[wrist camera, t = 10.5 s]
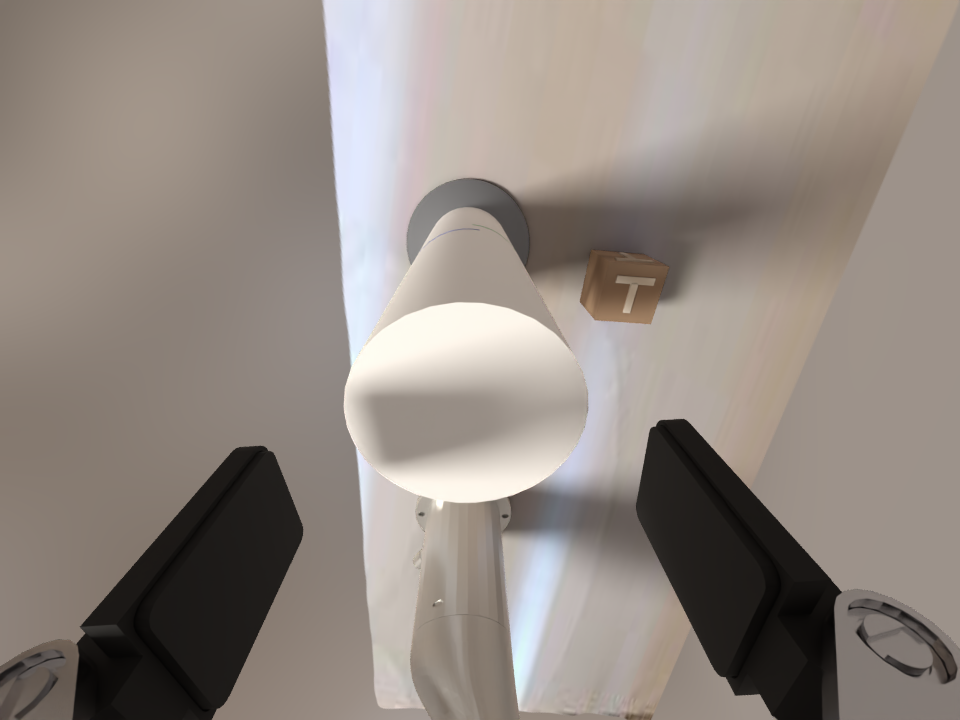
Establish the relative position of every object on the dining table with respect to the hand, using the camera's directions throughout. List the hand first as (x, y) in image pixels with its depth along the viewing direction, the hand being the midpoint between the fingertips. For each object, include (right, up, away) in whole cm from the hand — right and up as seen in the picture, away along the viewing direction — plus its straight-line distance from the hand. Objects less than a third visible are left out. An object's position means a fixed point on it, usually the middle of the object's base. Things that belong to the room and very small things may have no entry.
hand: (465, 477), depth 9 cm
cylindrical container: (-1, +13, +24) cm, 27 cm away
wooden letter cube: (+13, +11, +26) cm, 31 cm away
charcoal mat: (-1, +13, +24) cm, 27 cm away
